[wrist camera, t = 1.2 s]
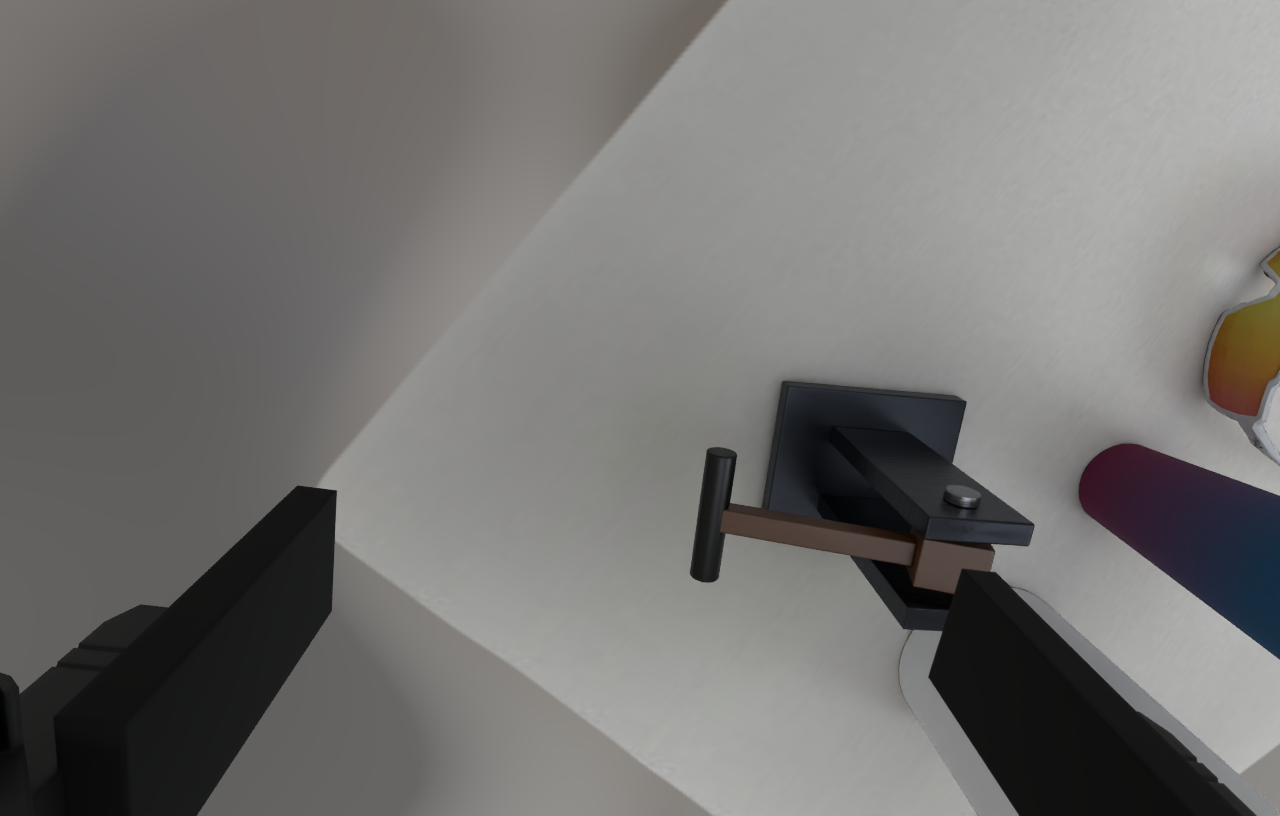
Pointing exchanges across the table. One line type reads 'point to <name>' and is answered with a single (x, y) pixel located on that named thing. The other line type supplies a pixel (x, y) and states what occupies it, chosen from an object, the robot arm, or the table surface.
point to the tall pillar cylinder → (969, 765)
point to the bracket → (884, 480)
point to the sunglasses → (1247, 361)
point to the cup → (1195, 531)
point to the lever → (820, 535)
